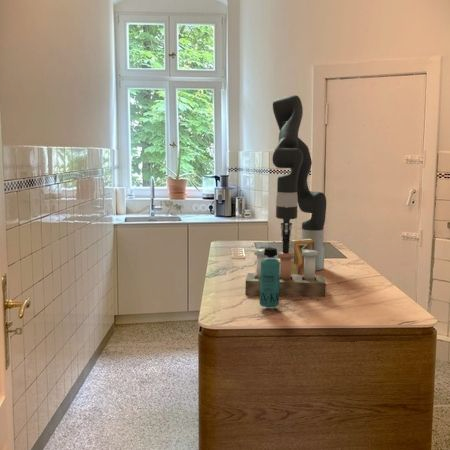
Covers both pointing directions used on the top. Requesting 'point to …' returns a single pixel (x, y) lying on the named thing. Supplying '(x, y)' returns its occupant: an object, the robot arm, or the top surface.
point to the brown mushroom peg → (285, 265)
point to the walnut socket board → (291, 286)
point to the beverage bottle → (269, 279)
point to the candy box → (299, 254)
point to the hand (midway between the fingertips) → (285, 252)
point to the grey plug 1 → (259, 260)
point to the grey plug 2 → (309, 264)
